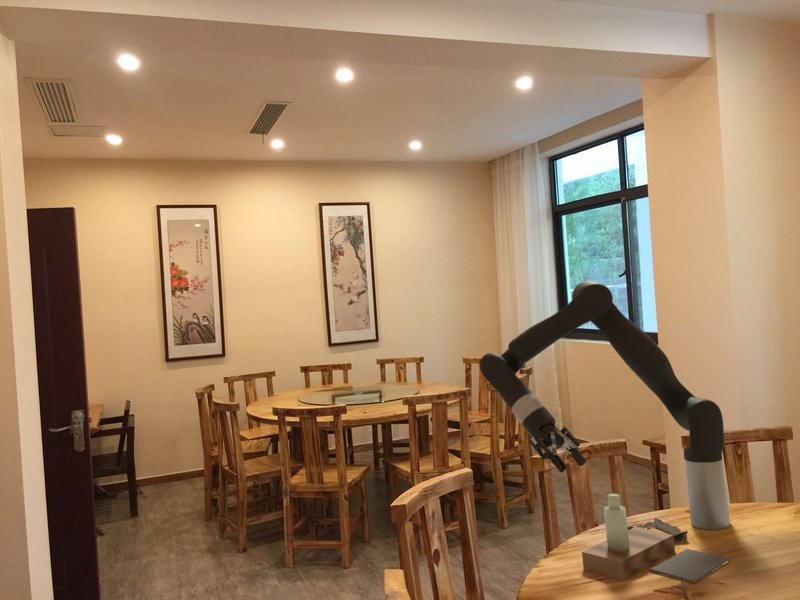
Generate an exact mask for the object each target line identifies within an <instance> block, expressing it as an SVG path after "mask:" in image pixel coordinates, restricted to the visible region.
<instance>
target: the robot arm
mask: <svg viewBox="0 0 800 600" xmlns="http://www.w3.org/2000/svg"><path fill="white" fill-rule="evenodd" d="M613 298H614V297H613V293H612V292H611V290H610V289H609V288H608V286H606V285H605V284H603V283H601V282H598V281H594V280H585V281H582V282H579V283H578V284H577V285H576V286H575V287H574V288H573V290H572V294H571V301H570V302H569V303H568V304H566V305H565V306H564V307H563V308H562V309H559V310H558V311H557V312H555V313H554V314H552V315H550V316H548V317H547V318H545V319H544V320H541V321H539V322H537V323H535V324H534V325H532V326H530V327H528V328H527V329H526V330H524V331H522V333H520V334H519V335H517V336H516V337H514V338H513V339H512V340H510V342H509V343H508V347H507V348H508V349H506V350H505V351H504V352H503V353H502V354H501V355H500V354H499V353H496V352H488V353H486V354H484V355H482V357H481V358H480V360H479V371H480V373H481V375H482V376H483V377H484V378H485V380H486V381H487V382H488V383H489V384H490V385H491V386H492V387H493V388H494V389H495V391H497V393H498V395H500V397H501V398H502V400H503V401H504V403H505V404H506V405H507V406H508V408H509V409H510V410H511V412H512V413H513V415H514V417H515V418H516V420H517V421H518V422H519V424H520V425H521V426H522V427H523V428H524V429H525V431H526V433H527V434H528V435H529V436H530V437H531V438H530V439H529V443H530V444H531V446H532V447H533V448H534V450H535V451H536V453H537V454H538V455H539V457H540V458H541V459H542V461H543V460H544V461H545V460H548V461H549V462H551V463H552V464H553V465H554V467H555V468H556V469H557V470H558V471H559V473H564V472H565V471H566V470H567V469H568V464H567V463H565V461H564V460H563V459H562V457H561V456H560V455H559V454H557V453H558V452H557V450H560V451H565V452H567V453H568V454H570V456H571V457H572V459H573V460H574V462H576V463H577V465H578V466H579V467H582V466H584V465H585V464H586V463H587V459H586V457H584V455H583V454H582V453H581V452H580V450H579V449H578V448H579V447H580V446H581V443H580V442H579V441H578V439H577V438H576V437H575V436H574V435H573V433H571V432H570V430H569V429H568V428H567V427H566V426H563V427H562V428H561V429H559V428H557V426H556V422H557V421H556V419H555V417H554V416H553V415H552V414H551V412H550V411H549V410H548V408H547V407H546V406H545V405H544V404H543V403H542V401H541V400H540V399H539V398H538V397H536V395H535V394H534V393H533V392H532V390H530V389H529V387H528V385H526V384H525V383H524V382H523V380H522V379H520V378H519V377H518V376H517V375H516V374H517V373H518V372H519V371H520V370H521V369H522V368H523V367H524V365H525V364H526V363H527V362H529V361H531V360H532V359H534V358H535V357H536V356H538V355H540V354H541V353H542V352H543V351H545V350H546V349H547V348H549V347H550V346H552V345H553V344H554V343H556V342H557V341H558V340H561V339H562V338H563V337H565V336H566V335H568V334H570V333H571V332H572V331H574V330H576V329H578V328H579V327H582V326H583V325H585V324H587V323H589V322H590V323H592V324H593V325H594V326H595V327H596V328H597V329H598V330H599V331H600V332H601V333H602V335H603V336H604V337H605V338H606V340H607V341H608V343H609V344H610V346H611V347H612V348H613V349H614V350H615V352H616V353H617V354H618V356H619V357H620V358H621V359H622V361H623V362H624V363H625V364H626V366H628V368H629V369H630V370H631V372H632V373H634V374H635V375H636V376H637V377H638V378H639V379H640V380H641V382H643V383H644V384H645V386H646V387H647V388H648V389H649V390H651V392H652V393H653V394H655V395H656V397H657V398H658V399H659V400H660V402H661V403H662V404H663V406H664V407H665V409H667V411H668V412H669V414H670V415H671V417H672V418H673V420H674V421H675V422H676V424H678V426H679V427H681V428H683V429H685V431H688V432H689V445H687V446H685V447H684V448H683V459H684V467H685V468H684V469H685V470H684V471H685V477H686V488H687V499H688V504H689V505H688V506H689V507H688V508H689V517H690V524H691V525H692V526H693V527H694V528H697V529H702V530H709V531H710V530H712V531H713V530H715V531H717V530H724V529H727V528H729V527H730V522H731V520H730V513H729V503H728V492H727V487H726V478H725V469H724V461H723V451H724V449H725V431H724V421H723V420H724V417H723V413H722V411H721V408H720V406H719V405H718V404H717V403H716V402H714V401H713V400H711V399H706V398H701V397H697V396H695V395H694V394H692V392H690V391H689V390H688V389H687V388H686V387H685V386H684V385H683V384H682V382H680V381H679V379H678V377H677V376H676V374H675V372H674V369H673V367H672V364H671V362H670V359H669V358H668V357H667V355H666V354H665V352H664V351H663V350H662V349H661V348H660V347H659V345H658V344H657V343H656V342H655V341H654V340H653V339H652V338H651V337H650V336H649V335H648V334H647V333H646V332H645V331H644V330H642V329H641V328H640V327H638V326H637V325H636V324H635V323H634V322H633V321H631V320H630V319H628V317H626V316H625V315H624V314H623V313H622V312H621V311H620V309H618V307H617V306H616V305H615V303H614V302H613V301H614V299H613ZM542 450H543V451H542Z"/></svg>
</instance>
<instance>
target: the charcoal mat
mask: <svg viewBox="0 0 800 600" xmlns="http://www.w3.org/2000/svg"><path fill="white" fill-rule="evenodd" d="M728 560H730V561H731V558H730V557H725V556H721V555H716V554H712V553H709V552H704V551H703V552H702V551H698V550H694V549H690V548H686V549H684V550H682V551H681V552H679V553H676V554H675V555H674V556H671V557H670V558H667V559H666V560H664V561H662V562H661V563H659V564H657V565H656V566H654V567H651V568H650V572H651V573H655V574H659V575H662V576H666V577H669V578H673V579H677V580H681V581H684V580H685V581H684V582H689V583H693V584H695V583H697V582H699V581H700V580H702V579H704V578H705V577H707V576H708V574H709V573H710V574H712V573H713V572H714V571H713V570H715V569H716V568H718V567H719V566H721V565H722V564H723V563H725V562H726V561H728ZM721 567H722V566H721ZM718 569H719V568H718ZM712 571H713V572H712ZM715 571H716V570H715ZM711 572H712V573H711ZM710 574H709V575H710ZM706 575H707V576H706ZM703 577H704V578H703Z"/></svg>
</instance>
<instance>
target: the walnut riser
mask: <svg viewBox="0 0 800 600" xmlns="http://www.w3.org/2000/svg"><path fill="white" fill-rule="evenodd" d="M634 527H635V528H632V529H630V530H628V536H629V546H630V549H629V550H627V551H623V552H616V551H611V550H609V549H608V545H607V539H606V540H604V541H602V542H600V543H598V544H596V545H594V546H591V547H590V548H587V549H585V550H583V551H581V556H582V567H583V570H584V569H586V570H585V571H587V570H589V571H588V572H591V571H592V573H594V574H599V575H602V576H606V577H609V578H612V579H616V580H619V581H624V580H626V579H628V578H629V577H631V576H633V575H635V574H637V573H639V572H641V571H642V570H644V569H646V568H648V567H650V566H652V565H654V564H655V563H658V562H660V561H661V560H663V559H665V558H666V557H669V556H670V555H672V554H675V552H676V546H675V543H674V534H671V533H668V532H662V531H658V530H652V529H643V528H638V527H636V526H634Z"/></svg>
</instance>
